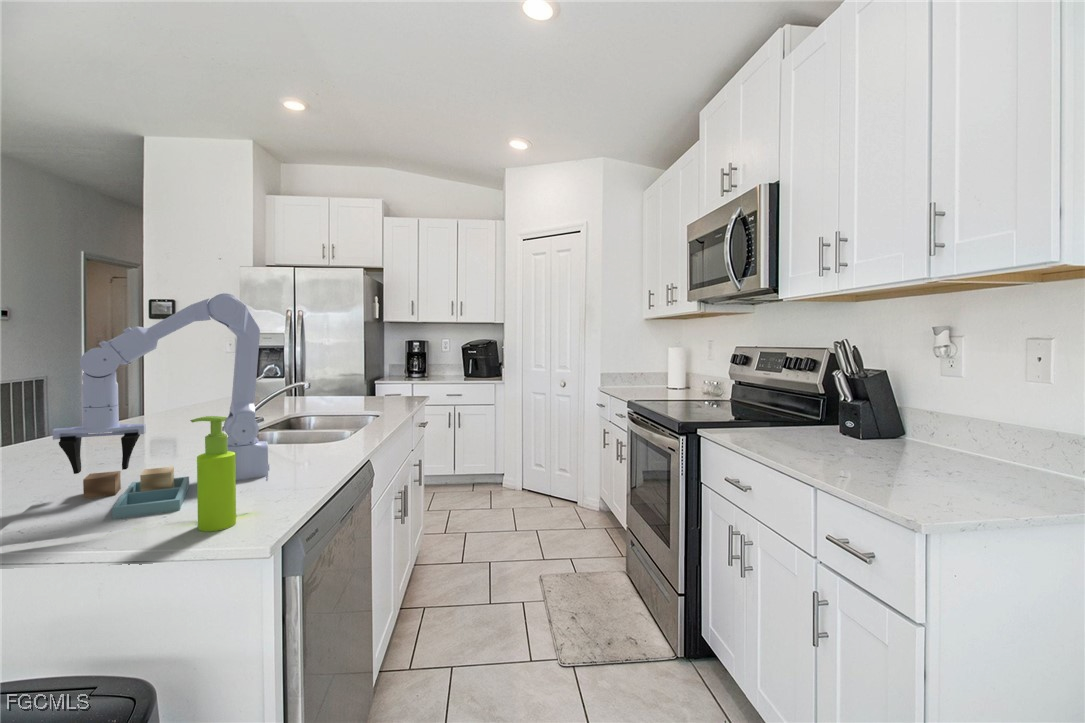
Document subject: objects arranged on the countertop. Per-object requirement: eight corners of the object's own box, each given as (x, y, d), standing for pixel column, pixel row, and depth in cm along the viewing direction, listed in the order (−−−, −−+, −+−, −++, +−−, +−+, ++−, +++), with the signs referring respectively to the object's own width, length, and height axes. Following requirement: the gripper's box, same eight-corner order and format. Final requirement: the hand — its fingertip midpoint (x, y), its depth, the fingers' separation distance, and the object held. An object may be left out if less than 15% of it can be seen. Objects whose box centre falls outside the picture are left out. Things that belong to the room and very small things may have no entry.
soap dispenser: (203, 519, 95) (202, 414, 94) (242, 519, 96) (241, 414, 95) (184, 531, 89) (182, 419, 88) (225, 531, 90) (224, 419, 89)
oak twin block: (174, 489, 109) (173, 466, 109) (171, 496, 105) (170, 472, 105) (145, 492, 107) (144, 469, 107) (140, 499, 103) (140, 475, 102)
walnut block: (120, 493, 109) (120, 470, 109) (115, 500, 105) (115, 476, 105) (90, 497, 107) (89, 473, 107) (83, 504, 102) (83, 479, 102)
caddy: (189, 489, 113) (189, 476, 112) (179, 515, 97) (179, 499, 97) (132, 496, 108) (131, 482, 107) (112, 523, 92) (112, 507, 92)
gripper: (147, 402, 112) (148, 462, 113) (59, 405, 105) (61, 469, 105) (142, 406, 106) (142, 470, 107) (48, 409, 99) (49, 478, 99)
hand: (101, 470), depth 106 cm, fingers open, 7 cm apart
